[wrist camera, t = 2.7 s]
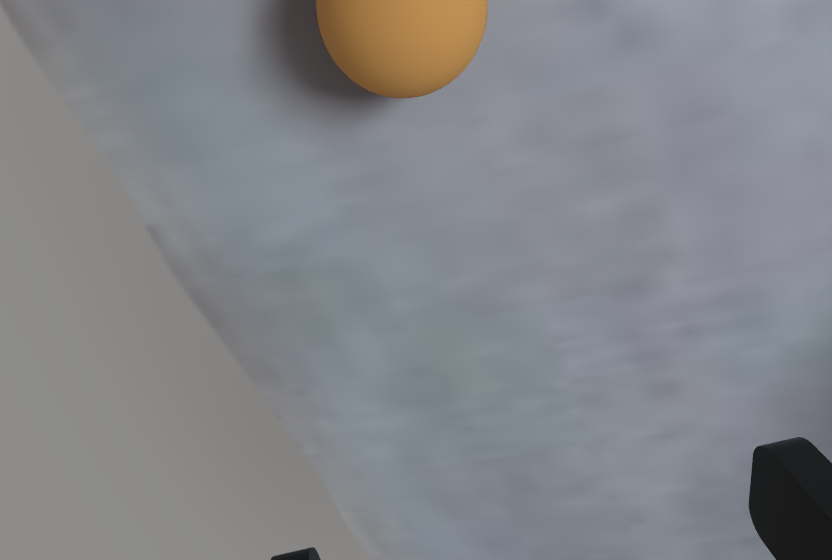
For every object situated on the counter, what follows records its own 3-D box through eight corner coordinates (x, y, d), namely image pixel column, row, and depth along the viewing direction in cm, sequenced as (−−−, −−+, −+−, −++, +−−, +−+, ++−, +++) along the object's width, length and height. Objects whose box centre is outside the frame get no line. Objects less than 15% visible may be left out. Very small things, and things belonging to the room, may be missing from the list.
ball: (498, -34, 24) (540, -34, 18) (429, 107, 26) (449, 143, 21) (358, -117, 22) (360, -143, 17) (297, 42, 24) (281, 63, 19)
